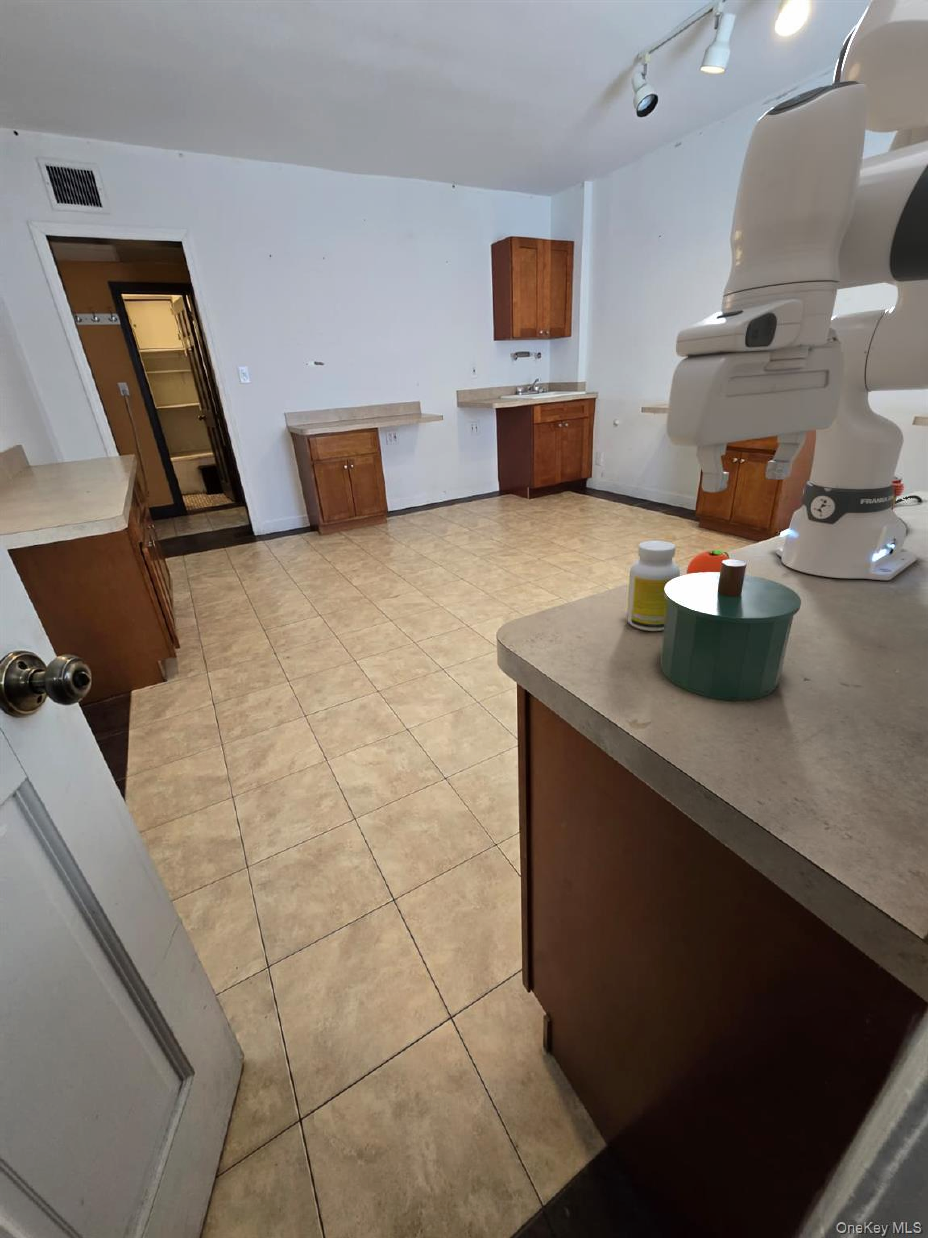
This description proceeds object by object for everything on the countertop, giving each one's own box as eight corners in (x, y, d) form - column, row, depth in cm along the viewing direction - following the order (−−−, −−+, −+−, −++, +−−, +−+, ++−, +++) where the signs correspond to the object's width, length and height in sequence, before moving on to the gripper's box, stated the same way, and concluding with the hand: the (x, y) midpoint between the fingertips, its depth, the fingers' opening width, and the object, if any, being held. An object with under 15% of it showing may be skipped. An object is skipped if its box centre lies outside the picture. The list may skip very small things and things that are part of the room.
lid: (718, 573, 66) (723, 537, 64) (827, 608, 54) (838, 566, 52) (637, 597, 60) (640, 559, 58) (740, 641, 49) (748, 596, 47)
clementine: (705, 581, 87) (711, 540, 84) (744, 592, 82) (752, 549, 79) (674, 592, 83) (679, 550, 80) (713, 605, 78) (720, 561, 75)
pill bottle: (677, 633, 70) (687, 552, 66) (628, 632, 72) (634, 552, 67) (670, 614, 76) (678, 538, 71) (624, 613, 77) (630, 538, 73)
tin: (709, 637, 69) (719, 571, 65) (802, 679, 58) (821, 602, 54) (638, 663, 64) (644, 592, 60) (725, 713, 54) (740, 632, 50)
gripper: (809, 331, 53) (783, 469, 59) (662, 335, 45) (648, 493, 51) (877, 323, 48) (841, 475, 53) (724, 325, 40) (701, 504, 45)
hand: (746, 484), depth 52 cm, fingers open, 8 cm apart
